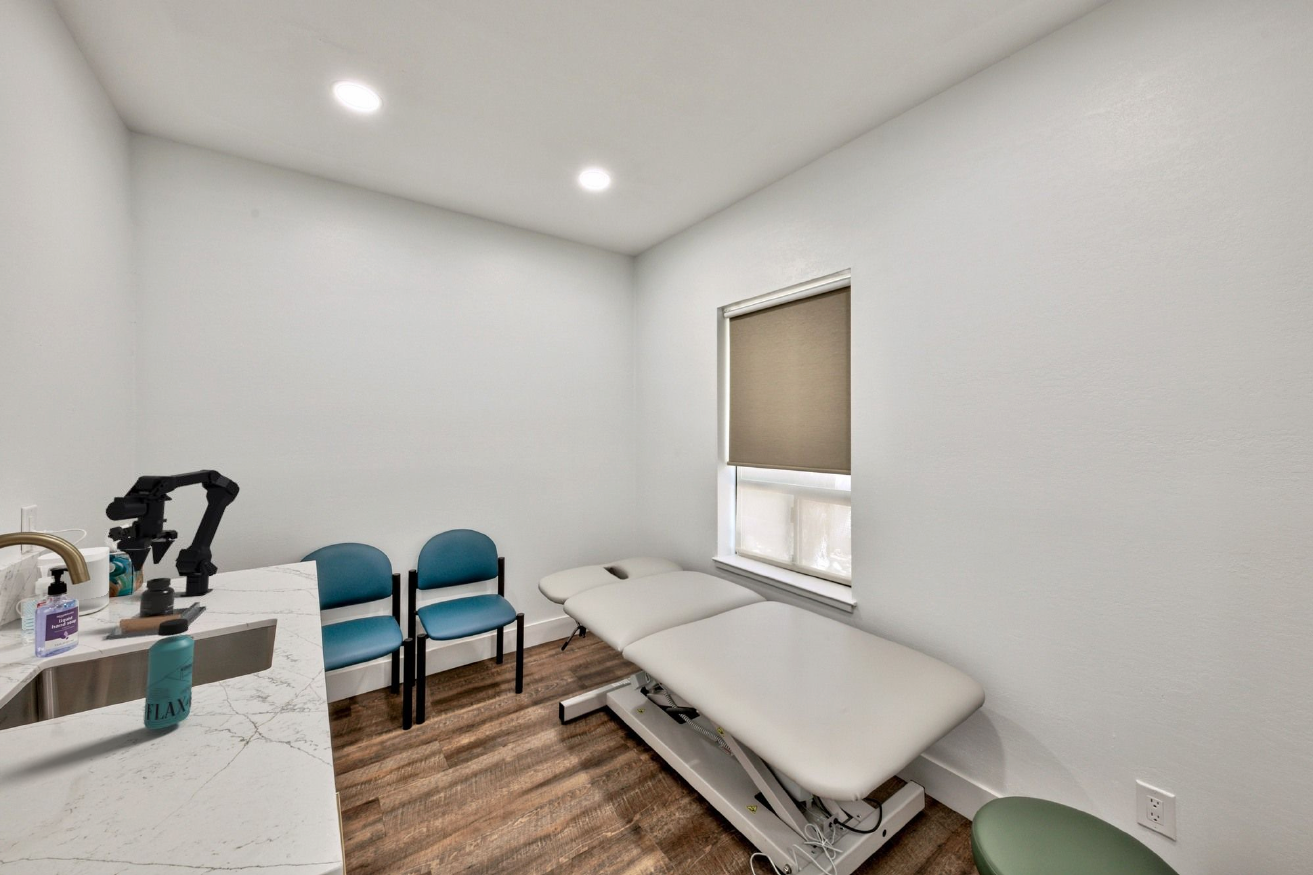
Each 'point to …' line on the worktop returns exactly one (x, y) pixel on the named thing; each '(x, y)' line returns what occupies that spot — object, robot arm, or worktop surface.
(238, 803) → the worktop surface
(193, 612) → the rail plate
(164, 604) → the supplement bottle
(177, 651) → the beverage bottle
